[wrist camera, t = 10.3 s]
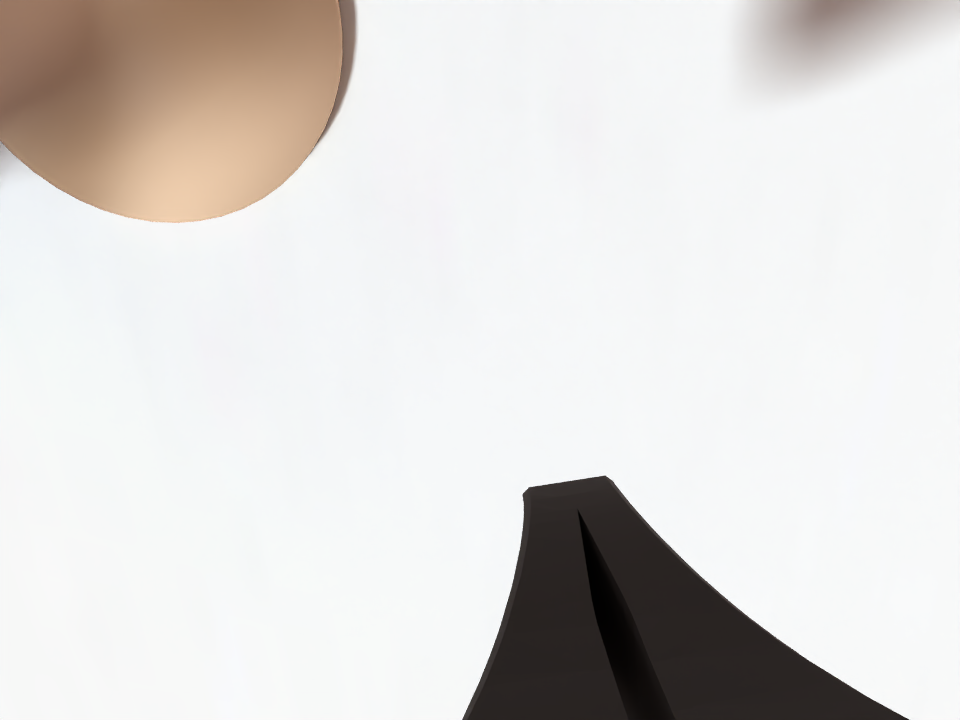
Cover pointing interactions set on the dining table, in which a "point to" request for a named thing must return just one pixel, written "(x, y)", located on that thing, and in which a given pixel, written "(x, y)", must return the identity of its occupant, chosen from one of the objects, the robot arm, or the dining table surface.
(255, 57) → the cork coaster
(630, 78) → the dining table surface
